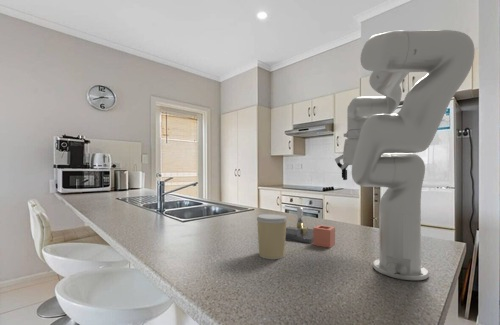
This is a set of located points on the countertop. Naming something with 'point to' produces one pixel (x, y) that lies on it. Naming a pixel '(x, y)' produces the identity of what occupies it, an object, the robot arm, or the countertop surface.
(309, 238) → the shaft base
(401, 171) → the robot arm
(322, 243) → the pink hollow cube
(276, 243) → the coffee cup
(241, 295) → the countertop surface
